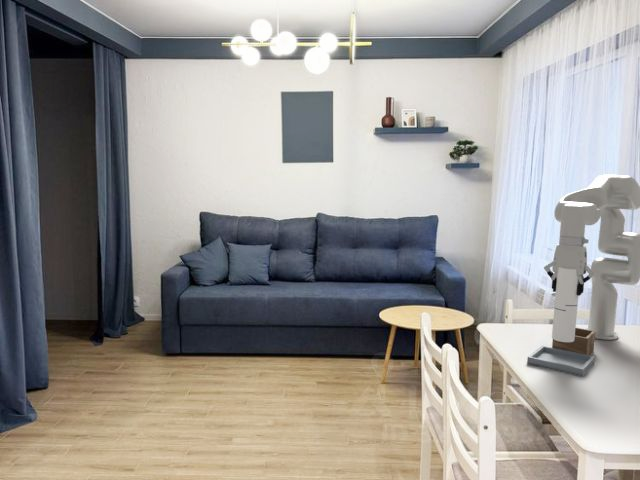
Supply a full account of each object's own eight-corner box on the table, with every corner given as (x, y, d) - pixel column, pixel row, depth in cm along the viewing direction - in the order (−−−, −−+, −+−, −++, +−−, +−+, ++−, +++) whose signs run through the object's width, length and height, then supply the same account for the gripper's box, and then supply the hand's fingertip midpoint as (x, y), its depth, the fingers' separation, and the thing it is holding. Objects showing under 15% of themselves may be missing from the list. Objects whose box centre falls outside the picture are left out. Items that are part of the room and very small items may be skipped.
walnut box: (560, 345, 222) (562, 325, 221) (593, 352, 215) (595, 331, 214) (551, 353, 213) (553, 331, 211) (585, 360, 206) (587, 338, 204)
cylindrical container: (576, 343, 196) (582, 270, 193) (553, 341, 198) (560, 268, 194) (571, 336, 203) (578, 266, 200) (550, 335, 205) (555, 264, 201)
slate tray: (541, 352, 214) (542, 345, 213) (594, 363, 203) (595, 356, 202) (527, 363, 201) (527, 356, 201) (582, 376, 190) (583, 369, 190)
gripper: (602, 242, 193) (597, 295, 196) (548, 237, 204) (544, 287, 206) (596, 245, 187) (591, 299, 190) (541, 239, 198) (537, 290, 200)
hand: (567, 292), depth 198 cm, fingers closed on cylindrical container, 7 cm apart
